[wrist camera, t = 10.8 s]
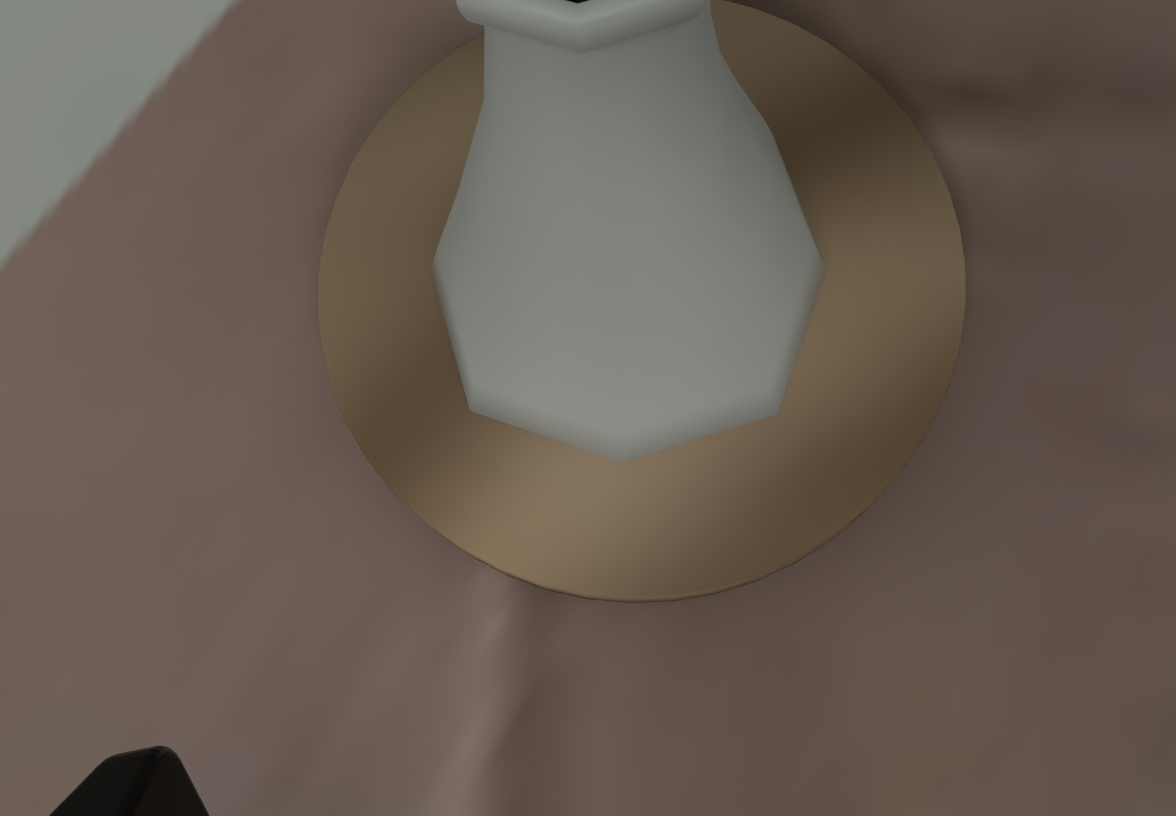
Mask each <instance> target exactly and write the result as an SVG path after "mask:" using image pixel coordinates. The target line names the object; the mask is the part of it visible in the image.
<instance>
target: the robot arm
mask: <svg viewBox="0 0 1176 816" xmlns="http://www.w3.org/2000/svg"><path fill="white" fill-rule="evenodd" d="M49 816H209V814H208V812H207V810H206V808H205V806H204V804H203V802H202V800H201V798H200V797H199V795H198V793H197V791H196V789H195V787H194V785H193V783H192V781H191V779H190V777H189V775H188V773H187V771H186V770H185V768H184V766H183V764H182V762H181V760H180V759H179V757H178V756H177V754H176V753H175V752H174V751H173V750H172V749H170V748H168V747H165V746H154V747H149V748H144V749H139V750H134V751H129V752H125V753H120V754H116V755H114V756H111V757H109V758H107V759H105V760H104V761H103V762H102V763H101V764H100V765H98V766H97V767H96V768H95V769H94V770H93V771H92V772H91V773H90V774H89V775H88V776H87V778H86V779H85V780H84V781H83V782H82V783H81V784H80V785H79V786H78V787H77V788H76V789H75V790H74V791H73V792H72V793H71V794H70V795H69V796H68V797H67V798H66V799H65V800H64V801H63V802H62V803H61V804H60V805H59V806H58V807H57V808H56V809H55V810H54V811H53V812H52V813H51V814H50V815H49Z"/></svg>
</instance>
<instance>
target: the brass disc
mask: <svg viewBox="0 0 1176 816" xmlns="http://www.w3.org/2000/svg"><path fill="white" fill-rule="evenodd" d="M711 16H712V21H713V25H714V29H715V33H716V37H717V42H718V46H719V50H720V52H721V54H722V56H723V58H724V59H725V61H726V63H727V65H728V67H729V68H730V70H731V72H732V74H733V75H734V77H735V79H736V81H737V82H738V83H739V85H740V86H741V88H742V89H743V90H744V92H745V93H746V95H747V96H748V97H749V99H750V100H751V102H752V103H753V105H754V106H755V107H756V109H757V110H758V112H759V113H760V114H761V116H762V117H763V119H764V120H765V122H766V123H767V125H768V127H769V129H770V130H771V132H772V134H773V136H774V138H775V141H776V143H777V146H778V148H779V151H780V154H781V156H782V159H783V161H784V164H785V166H786V169H787V171H788V174H789V177H790V179H791V182H792V184H793V187H794V189H795V192H796V194H797V197H798V200H799V202H800V205H801V207H802V210H803V212H804V215H805V217H806V220H807V223H808V225H809V228H810V230H811V233H812V235H813V238H814V240H815V243H816V245H817V248H818V251H819V253H820V256H821V258H822V261H823V263H824V266H825V268H826V271H825V274H824V277H823V280H822V283H821V286H820V289H819V292H818V295H817V298H816V301H815V304H814V307H813V310H812V313H811V316H810V319H809V322H808V325H807V328H806V331H805V334H804V337H803V340H802V343H801V346H800V349H799V352H798V355H797V358H796V361H795V364H794V367H793V370H792V373H791V376H790V379H789V381H788V384H787V387H786V390H785V393H784V396H783V399H782V402H781V405H780V408H779V411H778V414H777V415H774V416H771V417H767V418H764V419H761V420H758V421H754V422H751V423H748V424H745V425H741V426H738V427H735V428H732V429H728V430H725V431H722V432H719V433H715V434H712V435H709V436H706V437H703V438H699V439H696V440H693V441H690V442H686V443H683V444H680V445H677V446H673V447H670V448H667V449H664V450H660V451H657V452H654V453H651V454H648V455H644V456H641V457H638V458H635V459H631V460H628V461H625V462H622V463H620V462H617V461H614V460H611V459H608V458H605V457H602V456H600V455H597V454H594V453H591V452H588V451H585V450H582V449H579V448H576V447H573V446H570V445H567V444H565V443H562V442H559V441H556V440H553V439H550V438H547V437H544V436H541V435H538V434H535V433H532V432H530V431H527V430H524V429H521V428H518V427H515V426H512V425H509V424H506V423H503V422H500V421H497V420H494V419H492V418H489V417H486V416H483V415H480V414H477V413H474V412H471V411H470V409H469V405H468V402H467V398H466V395H465V391H464V387H463V384H462V380H461V377H460V373H459V369H458V366H457V362H456V359H455V355H454V351H453V348H452V344H451V341H450V337H449V333H448V330H447V326H446V323H445V319H444V315H443V312H442V308H441V305H440V301H439V297H438V294H437V290H436V287H435V283H434V279H433V276H432V272H431V268H432V264H433V261H434V257H435V254H436V250H437V247H438V244H439V242H440V239H441V236H442V233H443V231H444V228H445V225H446V222H447V220H448V217H449V214H450V211H451V209H452V206H453V203H454V200H455V198H456V195H457V192H458V189H459V186H460V182H461V179H462V175H463V172H464V168H465V165H466V161H467V157H468V154H469V150H470V147H471V143H472V139H473V136H474V132H475V129H476V125H477V122H478V118H479V114H480V111H481V107H482V104H483V100H484V33H483V34H481V35H479V36H478V37H476V38H474V39H473V40H471V41H469V42H467V43H466V44H464V45H462V46H461V47H459V48H457V49H456V50H454V51H453V52H452V53H450V54H449V55H448V56H446V57H445V58H444V59H442V60H441V61H440V62H438V63H437V64H436V65H435V66H433V67H432V68H431V69H429V70H428V71H427V72H425V73H424V74H423V75H422V76H421V77H420V78H419V79H418V80H417V81H416V82H415V83H414V84H413V85H412V86H411V87H410V88H409V89H408V90H407V91H405V92H404V93H403V94H402V95H401V96H400V97H399V98H398V99H397V100H396V102H395V103H394V104H393V105H392V107H391V108H390V109H389V110H388V111H387V113H386V114H385V115H384V116H383V118H382V119H381V120H380V121H379V122H378V124H377V125H376V126H375V127H374V129H373V130H372V132H371V133H370V135H369V136H368V138H367V140H366V141H365V143H364V144H363V146H362V148H361V149H360V151H359V152H358V154H357V156H356V157H355V159H354V160H353V162H352V164H351V167H350V169H349V171H348V173H347V175H346V177H345V179H344V182H343V184H342V186H341V188H340V190H339V192H338V195H337V197H336V200H335V203H334V207H333V210H332V213H331V216H330V219H329V223H328V226H327V229H326V232H325V238H324V244H323V249H322V255H321V261H320V267H319V281H318V318H319V328H320V337H321V347H322V352H323V356H324V360H325V364H326V368H327V372H328V376H329V380H330V384H331V387H332V390H333V392H334V395H335V397H336V399H337V402H338V404H339V407H340V409H341V412H342V414H343V417H344V419H345V422H346V424H347V426H348V427H349V429H350V431H351V433H352V434H353V436H354V438H355V439H356V441H357V443H358V445H359V446H360V448H361V450H362V451H363V453H364V455H365V457H366V458H367V460H368V461H369V462H370V463H371V465H372V466H373V467H374V469H375V470H376V471H377V472H378V474H379V475H380V476H381V477H382V479H383V480H384V481H385V483H386V484H387V485H388V486H389V488H390V489H391V490H392V491H393V492H394V493H395V494H396V495H397V496H398V497H399V498H400V499H401V500H402V501H403V502H404V503H405V504H406V505H407V506H408V507H409V508H410V509H411V510H412V511H413V512H415V513H416V514H417V515H418V516H419V517H420V518H421V519H422V520H423V521H424V522H425V523H427V524H428V525H429V526H431V527H432V528H433V529H434V530H436V531H437V532H438V533H440V534H441V535H442V536H444V537H445V538H447V539H448V540H449V541H451V542H452V543H453V544H455V545H456V546H458V547H459V548H460V549H462V550H463V551H464V552H466V553H467V554H469V555H470V556H472V557H474V558H476V559H478V560H479V561H481V562H483V563H485V564H487V565H489V566H491V567H493V568H494V569H496V570H498V571H500V572H502V573H504V574H506V575H508V576H511V577H513V578H516V579H519V580H521V581H524V582H527V583H530V584H532V585H535V586H538V587H540V588H543V589H546V590H550V591H554V592H559V593H563V594H568V595H572V596H576V597H581V598H585V599H593V600H604V601H615V602H627V603H639V602H662V601H677V600H682V599H688V598H694V597H699V596H705V595H711V594H716V593H720V592H723V591H726V590H729V589H732V588H735V587H738V586H742V585H745V584H748V583H751V582H754V581H757V580H760V579H762V578H764V577H766V576H768V575H770V574H772V573H774V572H777V571H779V570H781V569H783V568H785V567H787V566H789V565H791V564H794V563H796V562H798V561H799V560H801V559H802V558H804V557H805V556H807V555H808V554H810V553H811V552H813V551H815V550H816V549H818V548H819V547H821V546H822V545H824V544H825V543H827V542H828V541H830V540H831V539H833V538H834V537H835V536H836V535H838V534H839V533H840V532H841V531H842V530H843V529H845V528H846V527H847V526H848V525H849V524H850V523H852V522H853V521H854V520H855V519H856V518H857V517H858V516H860V515H861V514H862V513H863V512H864V511H865V510H866V509H867V508H868V507H869V506H870V505H871V504H872V502H873V501H874V500H875V499H876V498H877V497H878V496H879V495H880V493H881V492H882V491H883V490H884V489H885V488H886V487H887V485H888V484H889V483H890V482H891V481H892V480H893V479H894V477H895V476H896V475H897V474H898V473H899V472H900V471H901V470H902V468H903V467H904V466H905V465H906V463H907V462H908V460H909V459H910V457H911V456H912V454H913V453H914V451H915V450H916V448H917V447H918V445H919V444H920V442H921V441H922V439H923V437H924V436H925V434H926V433H927V431H928V430H929V428H930V426H931V424H932V422H933V420H934V417H935V415H936V413H937V411H938V409H939V407H940V405H941V402H942V400H943V398H944V396H945V394H946V392H947V389H948V386H949V383H950V379H951V376H952V373H953V369H954V366H955V363H956V360H957V356H958V353H959V349H960V342H961V336H962V329H963V323H964V316H965V304H966V268H965V260H964V253H963V246H962V239H961V232H960V227H959V224H958V220H957V217H956V213H955V210H954V206H953V203H952V199H951V196H950V192H949V190H948V187H947V185H946V183H945V181H944V178H943V176H942V174H941V172H940V169H939V167H938V165H937V163H936V161H935V158H934V156H933V154H932V153H931V151H930V149H929V148H928V146H927V145H926V143H925V141H924V140H923V138H922V137H921V135H920V133H919V132H918V130H917V129H916V127H915V125H914V124H913V122H912V121H911V120H910V118H909V117H908V116H907V115H906V114H905V112H904V111H903V110H902V109H901V108H900V106H899V105H898V104H897V103H896V101H895V100H894V99H893V98H892V97H891V95H890V94H889V93H888V92H887V91H886V90H885V89H884V88H883V87H882V86H881V85H880V84H879V83H878V82H877V81H875V80H874V79H873V78H872V77H871V76H870V75H869V74H868V73H867V72H866V71H865V70H864V69H863V68H861V67H860V66H859V65H858V64H857V63H855V62H854V61H853V60H851V59H850V58H848V57H847V56H846V55H844V54H843V53H841V52H840V51H839V50H837V49H836V48H834V47H833V46H832V45H830V44H829V43H828V42H826V41H824V40H822V39H820V38H819V37H817V36H815V35H813V34H811V33H809V32H808V31H806V30H804V29H802V28H800V27H798V26H797V25H795V24H793V23H791V22H788V21H786V20H783V19H781V18H778V17H776V16H773V15H771V14H768V13H766V12H763V11H761V10H758V9H755V8H752V7H748V6H744V5H740V4H737V3H733V2H729V1H725V0H711Z"/></svg>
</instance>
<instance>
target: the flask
mask: <svg viewBox="0 0 1176 816" xmlns="http://www.w3.org/2000/svg"><path fill="white" fill-rule="evenodd" d="M456 3H457V6H458V9H459V11H460V12H461V13H462V15H463V16H464V17H465V19H466V20H467V21H469V22H473V23H476V24H480V25H483V26H484V100H483V104H482V107H481V111H480V114H479V118H478V122H477V125H476V129H475V132H474V136H473V139H472V143H471V147H470V150H469V154H468V157H467V161H466V165H465V168H464V172H463V175H462V179H461V182H460V186H459V189H458V192H457V195H456V198H455V200H454V203H453V206H452V209H451V211H450V214H449V217H448V220H447V222H446V225H445V228H444V231H443V233H442V236H441V239H440V242H439V244H438V247H437V250H436V254H435V257H434V261H433V264H432V268H431V272H432V276H433V279H434V283H435V287H436V290H437V294H438V297H439V301H440V305H441V308H442V312H443V315H444V319H445V323H446V326H447V330H448V333H449V337H450V341H451V344H452V348H453V351H454V355H455V359H456V362H457V366H458V369H459V373H460V377H461V380H462V384H463V387H464V391H465V395H466V398H467V402H468V405H469V409H470V411H471V412H474V413H477V414H480V415H483V416H486V417H489V418H492V419H494V420H497V421H500V422H503V423H506V424H509V425H512V426H515V427H518V428H521V429H524V430H527V431H530V432H532V433H535V434H538V435H541V436H544V437H547V438H550V439H553V440H556V441H559V442H562V443H565V444H567V445H570V446H573V447H576V448H579V449H582V450H585V451H588V452H591V453H594V454H597V455H600V456H602V457H605V458H608V459H611V460H614V461H617V462H620V463H622V462H625V461H628V460H631V459H635V458H638V457H641V456H644V455H648V454H651V453H654V452H657V451H660V450H664V449H667V448H670V447H673V446H677V445H680V444H683V443H686V442H690V441H693V440H696V439H699V438H703V437H706V436H709V435H712V434H715V433H719V432H722V431H725V430H728V429H732V428H735V427H738V426H741V425H745V424H748V423H751V422H754V421H758V420H761V419H764V418H767V417H771V416H774V415H777V414H778V411H779V408H780V405H781V402H782V399H783V396H784V393H785V390H786V387H787V384H788V381H789V379H790V376H791V373H792V370H793V367H794V364H795V361H796V358H797V355H798V352H799V349H800V346H801V343H802V340H803V337H804V334H805V331H806V328H807V325H808V322H809V319H810V316H811V313H812V310H813V307H814V304H815V301H816V298H817V295H818V292H819V289H820V286H821V283H822V280H823V277H824V274H825V271H826V268H825V266H824V263H823V261H822V258H821V256H820V253H819V251H818V248H817V245H816V243H815V240H814V238H813V235H812V233H811V230H810V228H809V225H808V223H807V220H806V217H805V215H804V212H803V210H802V207H801V205H800V202H799V200H798V197H797V194H796V192H795V189H794V187H793V184H792V182H791V179H790V177H789V174H788V171H787V169H786V166H785V164H784V161H783V159H782V156H781V154H780V151H779V148H778V146H777V143H776V141H775V138H774V136H773V134H772V132H771V130H770V129H769V127H768V125H767V123H766V122H765V120H764V119H763V117H762V116H761V114H760V113H759V112H758V110H757V109H756V107H755V106H754V105H753V103H752V102H751V100H750V99H749V97H748V96H747V95H746V93H745V92H744V90H743V89H742V88H741V86H740V85H739V83H738V82H737V81H736V79H735V77H734V75H733V74H732V72H731V70H730V68H729V67H728V65H727V63H726V61H725V59H724V58H723V56H722V54H721V52H720V50H719V46H718V42H717V37H716V33H715V29H714V25H713V21H712V16H711V0H456Z"/></svg>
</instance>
